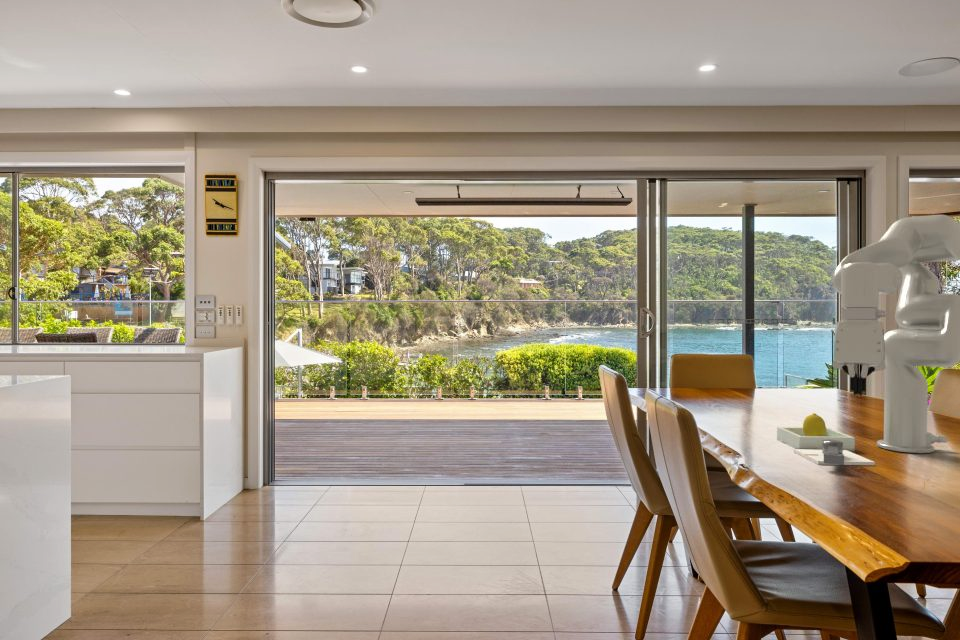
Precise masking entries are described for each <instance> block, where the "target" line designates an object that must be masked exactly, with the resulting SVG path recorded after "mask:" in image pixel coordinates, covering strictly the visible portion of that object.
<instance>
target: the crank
mask: <svg viewBox="0 0 960 640" xmlns="http://www.w3.org/2000/svg"><path fill="white" fill-rule="evenodd" d="M822 453H823V454H824V463H828V464H838V466H845V465H844V454H843V442H841V441H837V440H822Z"/></svg>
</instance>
